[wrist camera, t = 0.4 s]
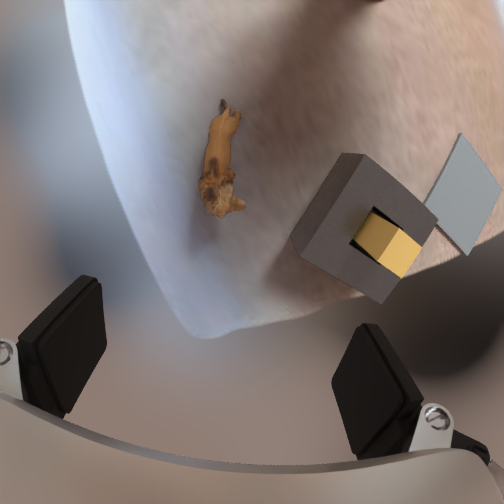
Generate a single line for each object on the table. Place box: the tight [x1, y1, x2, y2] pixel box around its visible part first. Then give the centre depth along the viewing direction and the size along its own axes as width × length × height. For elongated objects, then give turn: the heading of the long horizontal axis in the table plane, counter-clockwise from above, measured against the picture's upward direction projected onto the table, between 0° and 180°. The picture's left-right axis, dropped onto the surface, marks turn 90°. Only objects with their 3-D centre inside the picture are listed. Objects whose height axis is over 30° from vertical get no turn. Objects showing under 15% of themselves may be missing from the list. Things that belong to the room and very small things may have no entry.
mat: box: [423, 133, 502, 256], centre depth 37 cm, size 16×16×1 cm
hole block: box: [290, 153, 439, 304], centre depth 35 cm, size 14×14×8 cm
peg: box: [353, 212, 422, 278], centre depth 31 cm, size 4×4×12 cm
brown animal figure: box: [198, 99, 246, 219], centre depth 31 cm, size 15×5×9 cm, turn 2°
